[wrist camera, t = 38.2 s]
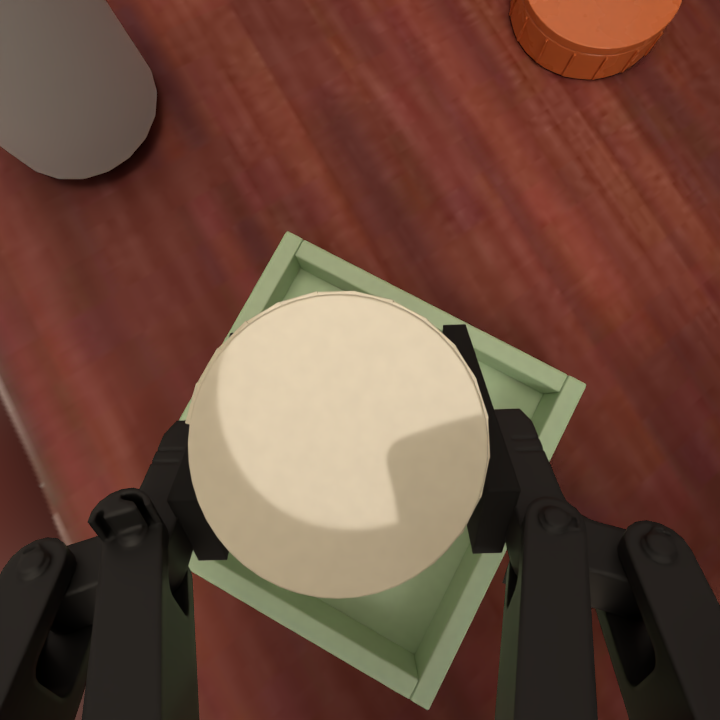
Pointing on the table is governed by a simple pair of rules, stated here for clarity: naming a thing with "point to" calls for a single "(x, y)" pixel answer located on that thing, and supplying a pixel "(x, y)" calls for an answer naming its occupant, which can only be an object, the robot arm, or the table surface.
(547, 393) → the tray
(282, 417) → the jar
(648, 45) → the lid
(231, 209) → the table surface
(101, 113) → the can
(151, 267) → the table surface
